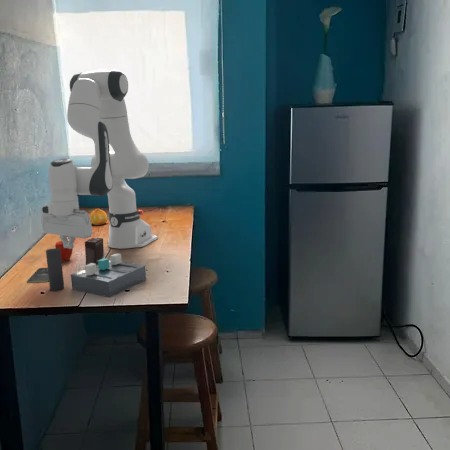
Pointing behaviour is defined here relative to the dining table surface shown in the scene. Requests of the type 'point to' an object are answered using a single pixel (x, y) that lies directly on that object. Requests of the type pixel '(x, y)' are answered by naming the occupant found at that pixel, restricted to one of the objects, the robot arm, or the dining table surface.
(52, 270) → the post
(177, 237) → the dining table surface
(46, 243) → the dining table surface
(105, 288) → the panel
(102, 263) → the slider mid
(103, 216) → the fruit
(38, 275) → the smartphone
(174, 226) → the dining table surface
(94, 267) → the slider
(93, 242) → the box
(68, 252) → the apple
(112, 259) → the slider
